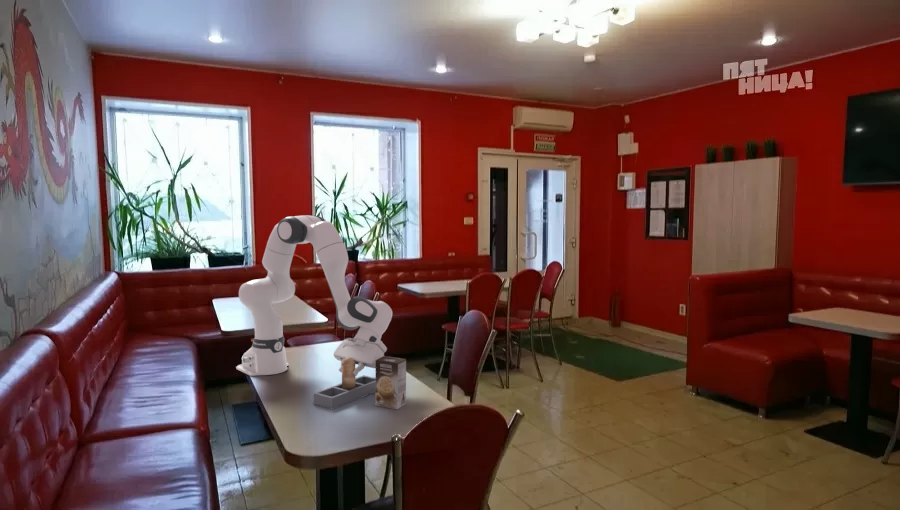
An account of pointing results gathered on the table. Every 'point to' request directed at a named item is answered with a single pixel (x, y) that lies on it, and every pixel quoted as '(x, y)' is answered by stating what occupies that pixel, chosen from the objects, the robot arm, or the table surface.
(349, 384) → the tan domed cylinder
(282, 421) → the table surface
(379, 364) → the coffee box
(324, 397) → the grey compartment tray
